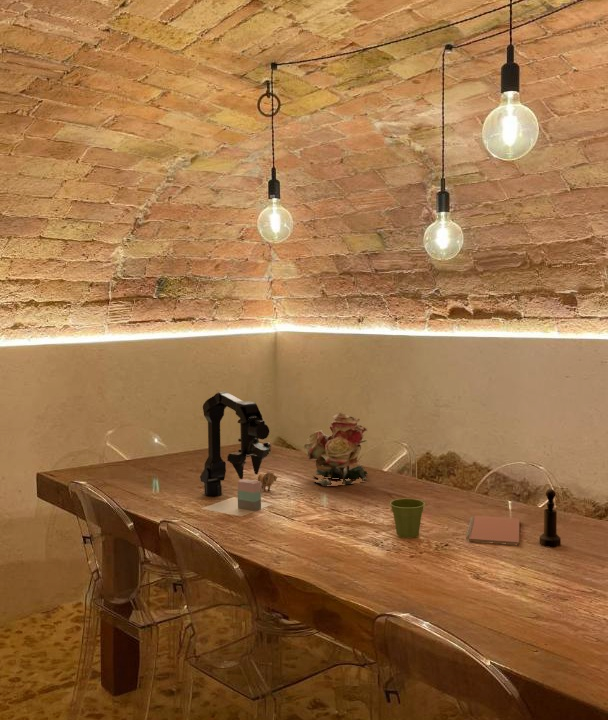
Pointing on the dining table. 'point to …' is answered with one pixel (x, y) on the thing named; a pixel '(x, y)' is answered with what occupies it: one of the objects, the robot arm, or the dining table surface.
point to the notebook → (494, 530)
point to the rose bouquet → (338, 450)
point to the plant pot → (407, 516)
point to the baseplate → (236, 506)
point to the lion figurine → (266, 480)
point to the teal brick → (249, 496)
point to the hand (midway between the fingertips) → (248, 476)
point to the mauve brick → (249, 485)
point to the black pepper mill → (550, 523)
